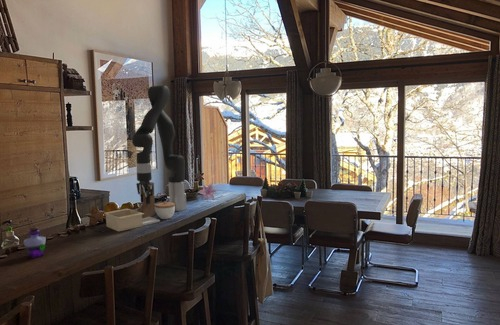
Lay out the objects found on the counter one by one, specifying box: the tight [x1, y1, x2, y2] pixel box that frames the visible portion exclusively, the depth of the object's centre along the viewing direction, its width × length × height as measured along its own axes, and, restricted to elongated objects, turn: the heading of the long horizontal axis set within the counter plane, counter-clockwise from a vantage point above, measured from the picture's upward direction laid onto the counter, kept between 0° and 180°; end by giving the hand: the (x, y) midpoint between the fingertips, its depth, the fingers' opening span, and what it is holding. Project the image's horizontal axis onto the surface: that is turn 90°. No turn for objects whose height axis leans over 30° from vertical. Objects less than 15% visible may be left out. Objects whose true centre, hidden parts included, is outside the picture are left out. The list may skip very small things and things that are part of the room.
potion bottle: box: [23, 226, 47, 259], centre depth 162 cm, size 9×9×12 cm
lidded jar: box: [155, 200, 176, 220], centre depth 222 cm, size 11×11×9 cm
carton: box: [103, 208, 144, 232], centre depth 205 cm, size 13×18×7 cm
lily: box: [197, 182, 218, 200], centre depth 276 cm, size 12×12×10 cm
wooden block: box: [136, 181, 156, 218], centre depth 213 cm, size 9×4×18 cm, turn 150°
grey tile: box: [142, 216, 161, 226], centre depth 214 cm, size 10×11×1 cm
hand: (145, 202), depth 213 cm, fingers closed on wooden block, 4 cm apart
